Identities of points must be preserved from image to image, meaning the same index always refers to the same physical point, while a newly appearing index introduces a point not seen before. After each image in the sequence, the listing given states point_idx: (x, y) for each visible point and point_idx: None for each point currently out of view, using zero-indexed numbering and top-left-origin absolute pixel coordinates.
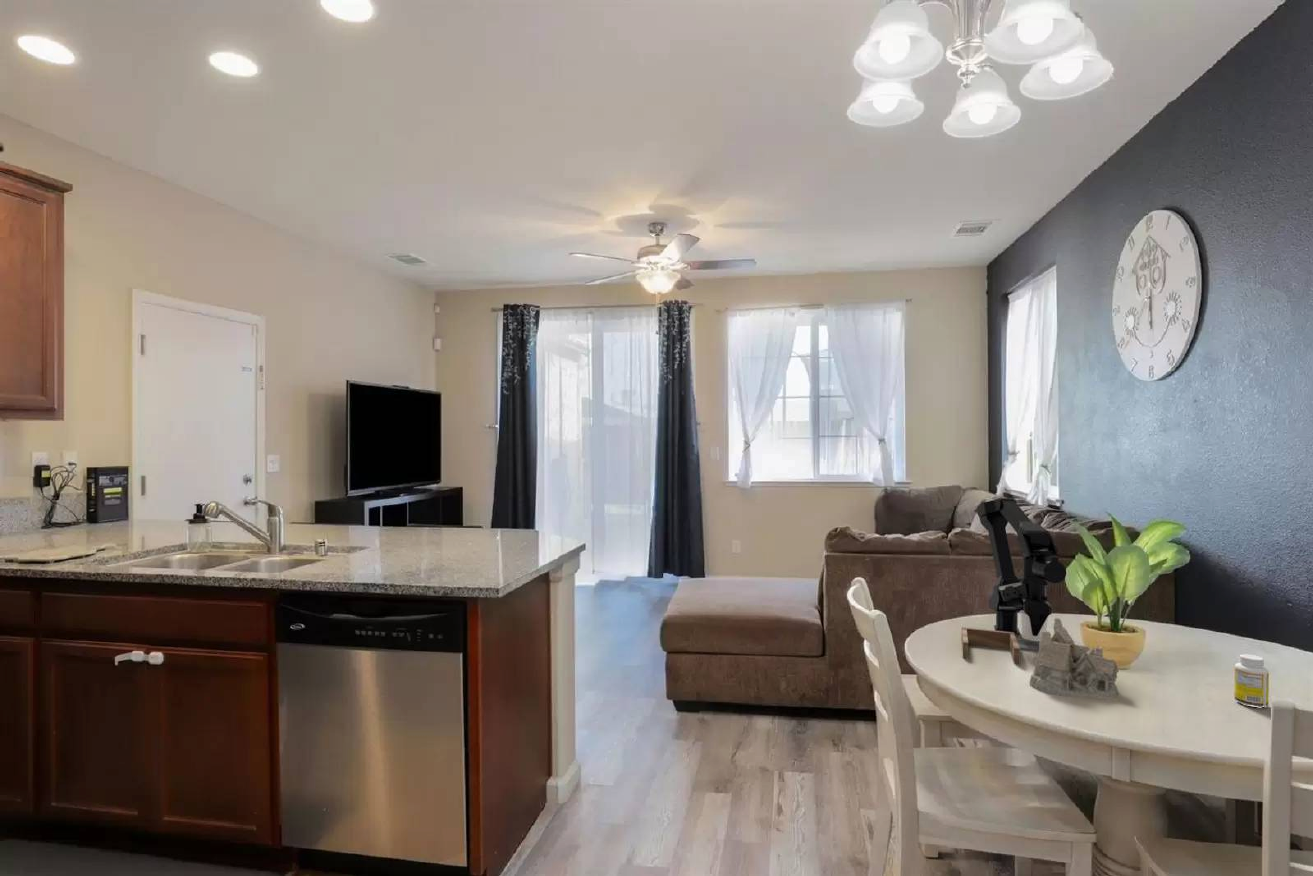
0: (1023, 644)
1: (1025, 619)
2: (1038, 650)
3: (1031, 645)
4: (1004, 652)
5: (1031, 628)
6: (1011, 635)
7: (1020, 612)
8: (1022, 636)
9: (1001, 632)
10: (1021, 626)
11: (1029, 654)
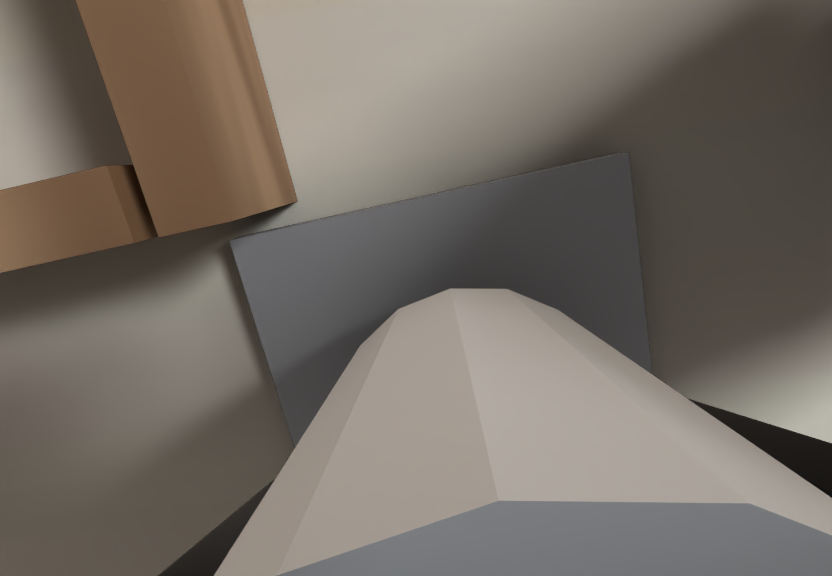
0: (392, 292)
1: (232, 547)
2: (296, 434)
3: None
4: (17, 139)
5: (208, 537)
6: (2, 210)
7: (393, 524)
8: (425, 301)
9: (82, 19)
10: (430, 335)
11: (144, 367)
